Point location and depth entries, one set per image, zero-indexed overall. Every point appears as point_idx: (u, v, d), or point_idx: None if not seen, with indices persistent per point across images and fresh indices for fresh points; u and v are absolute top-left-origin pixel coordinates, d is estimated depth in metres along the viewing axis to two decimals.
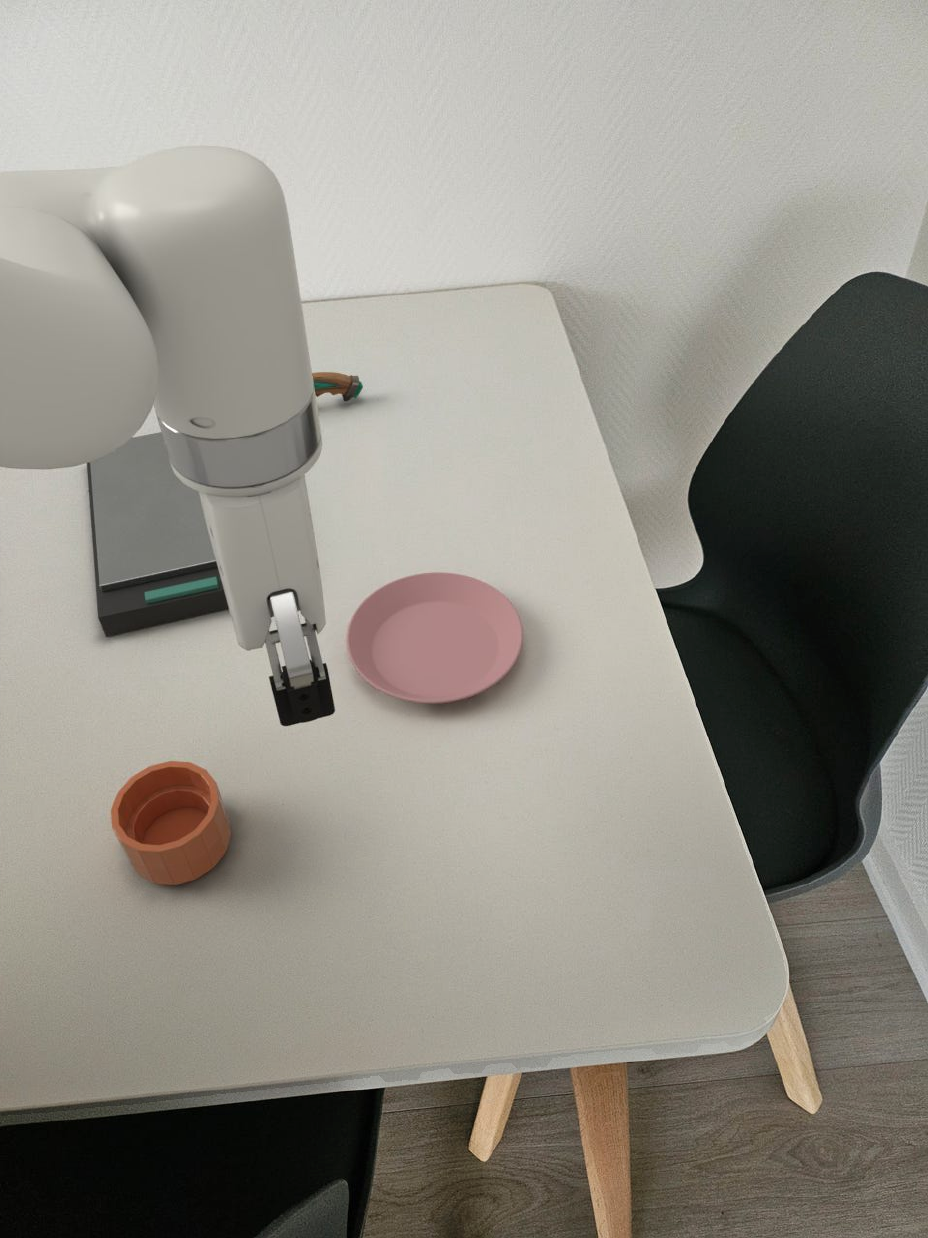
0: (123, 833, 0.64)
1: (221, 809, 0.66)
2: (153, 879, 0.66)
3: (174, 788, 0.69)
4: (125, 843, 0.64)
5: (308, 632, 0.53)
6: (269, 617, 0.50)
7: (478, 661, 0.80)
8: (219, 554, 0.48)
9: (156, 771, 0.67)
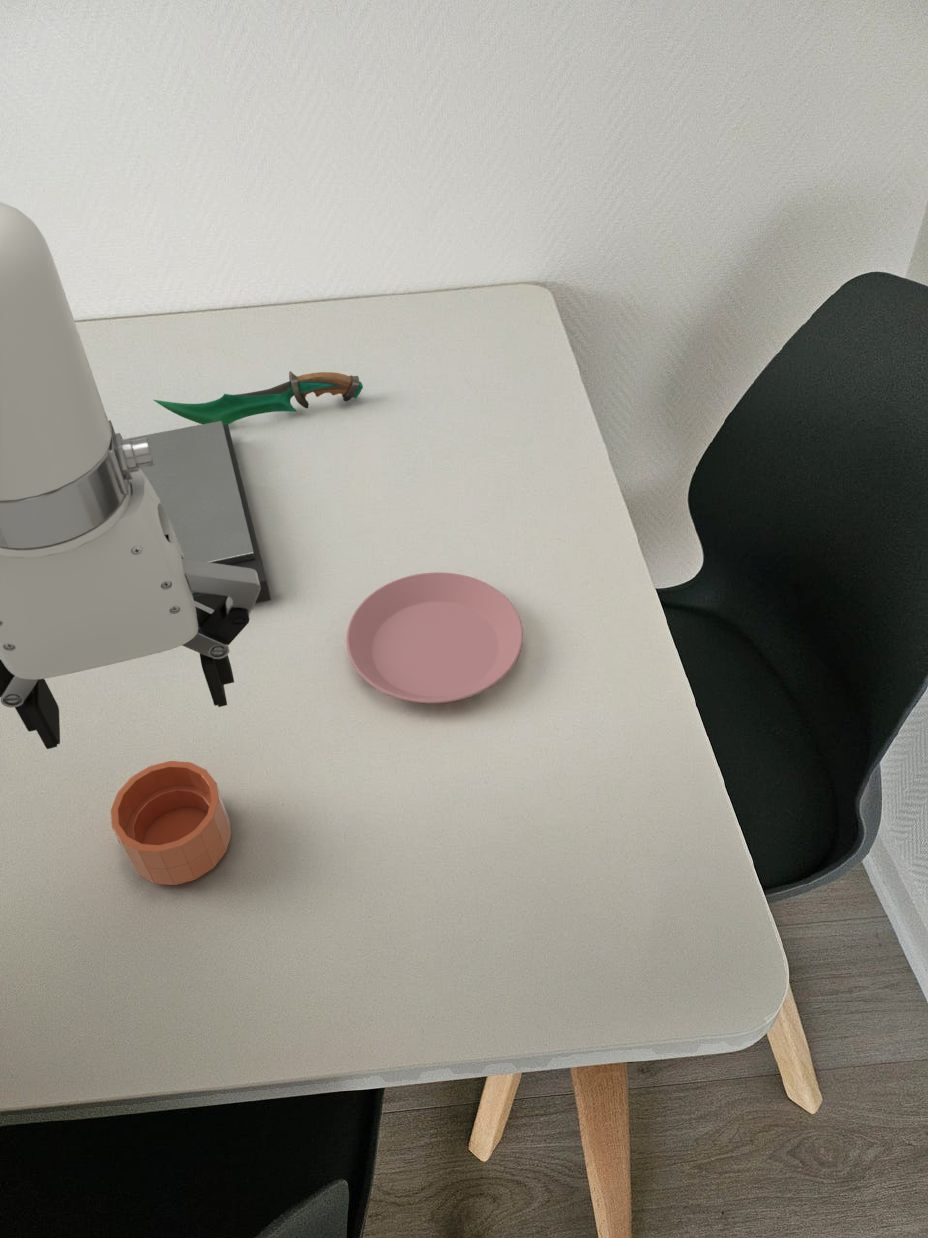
0: (123, 833, 0.64)
1: (221, 809, 0.66)
2: (153, 879, 0.66)
3: (174, 788, 0.69)
4: (125, 843, 0.64)
5: None
6: None
7: (478, 661, 0.80)
8: None
9: (156, 771, 0.67)
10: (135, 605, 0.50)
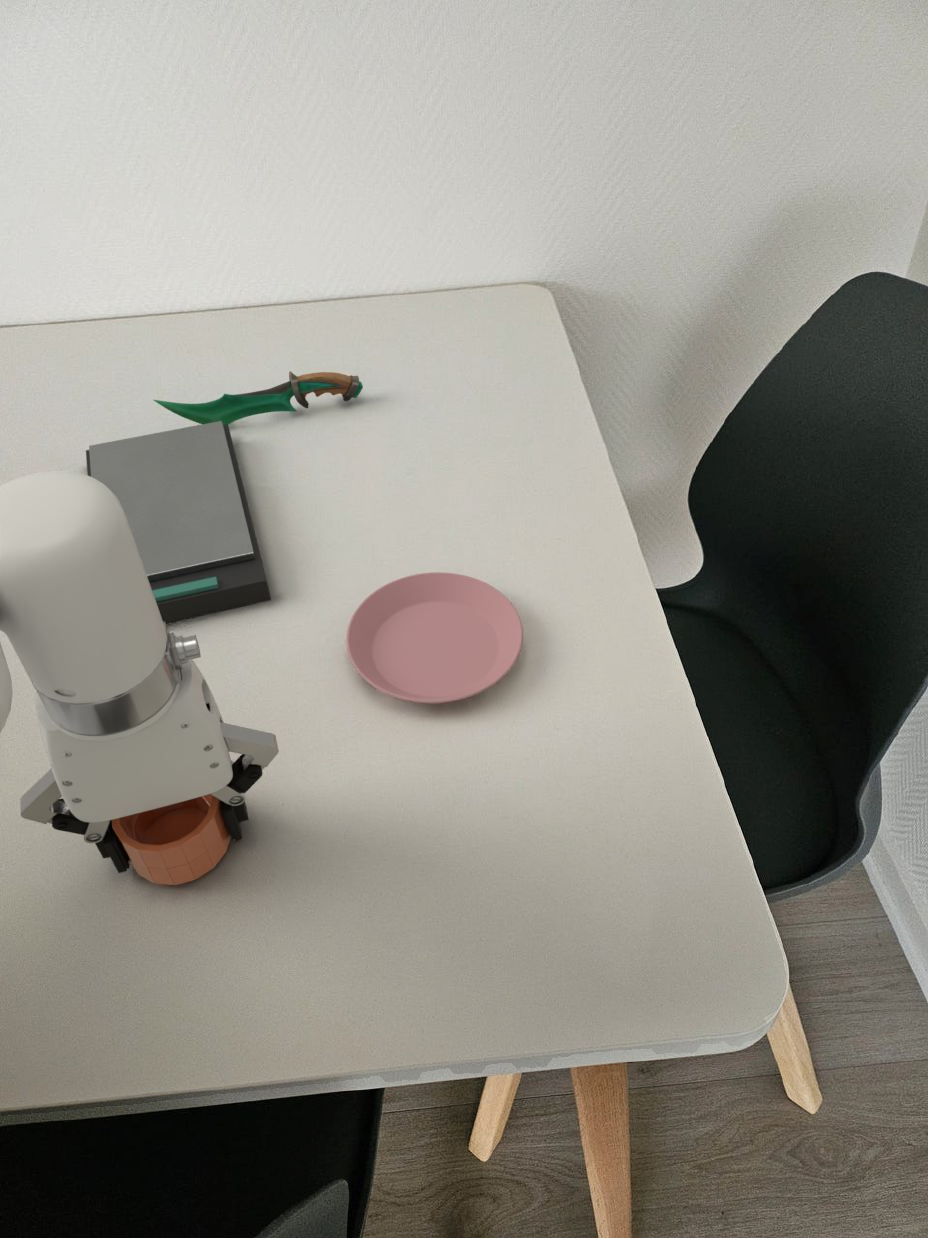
0: (123, 833, 0.64)
1: None
2: (153, 879, 0.66)
3: None
4: (125, 843, 0.64)
5: None
6: None
7: (478, 661, 0.80)
8: None
9: None
10: (182, 764, 0.60)
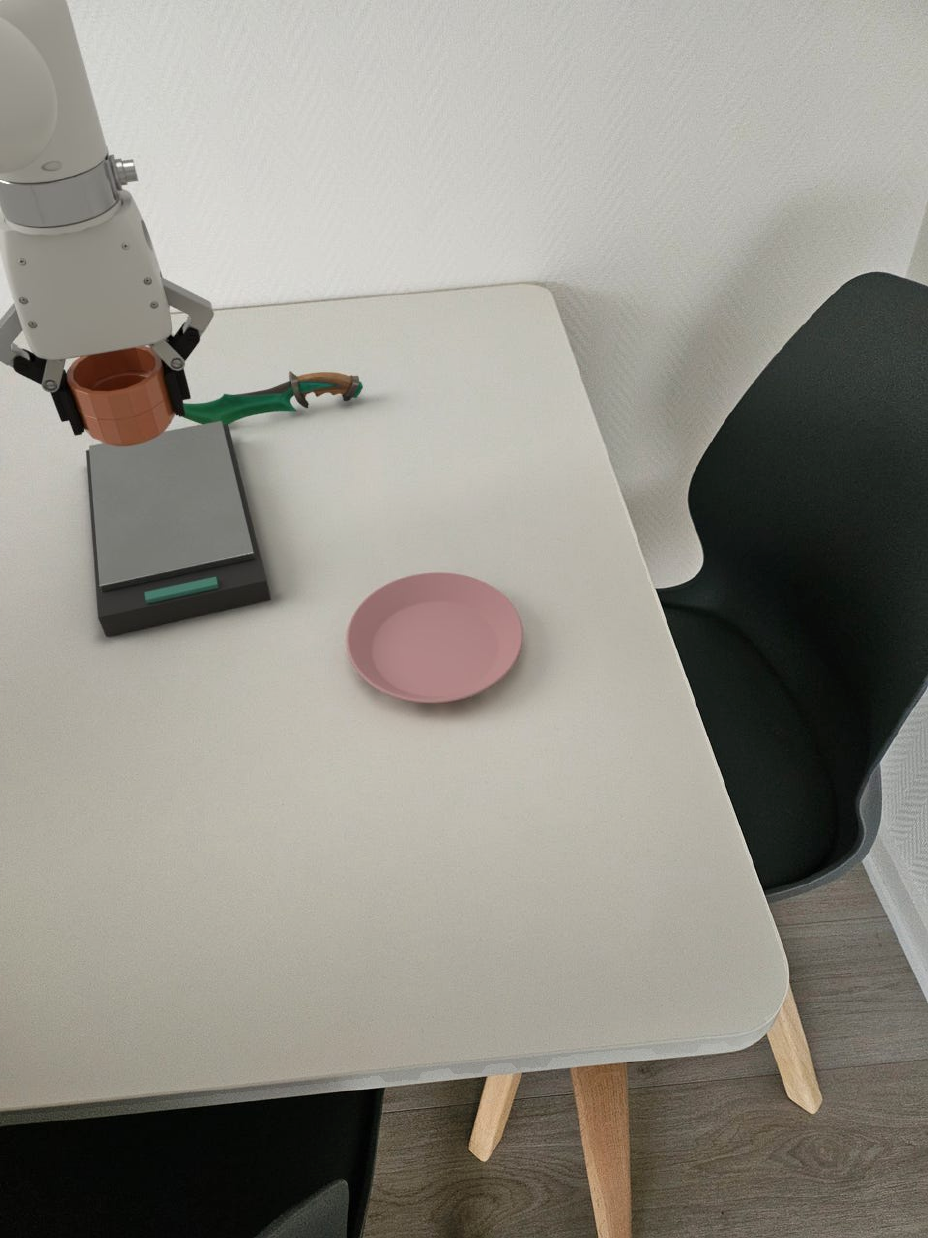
0: (76, 384, 0.73)
1: None
2: (104, 436, 0.75)
3: (125, 373, 0.78)
4: (78, 390, 0.72)
5: None
6: None
7: (478, 661, 0.80)
8: None
9: None
10: (124, 295, 0.68)
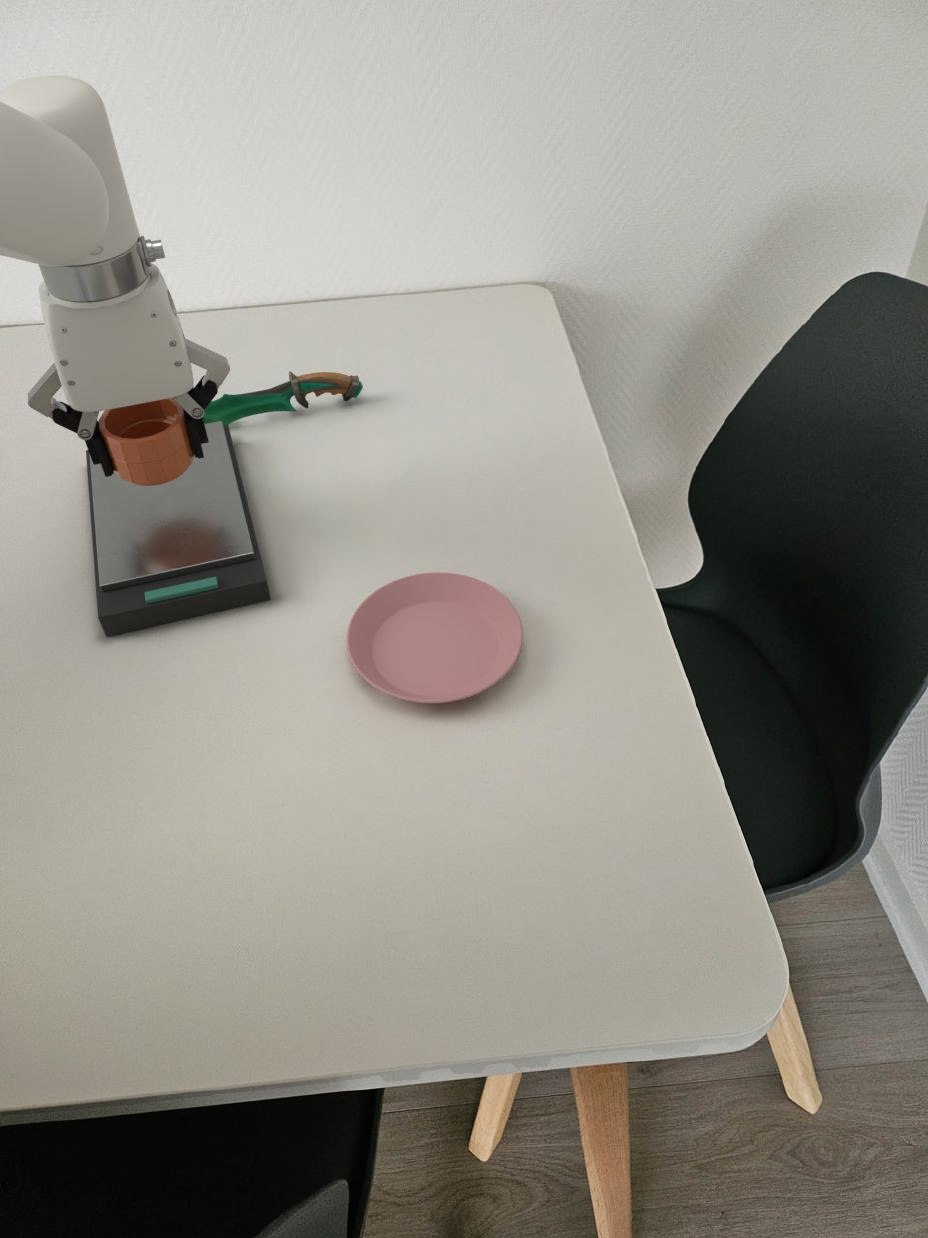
0: (108, 432, 0.82)
1: (186, 424, 0.84)
2: (132, 478, 0.84)
3: (149, 419, 0.87)
4: (109, 438, 0.81)
5: None
6: None
7: (478, 661, 0.80)
8: None
9: None
10: (152, 356, 0.77)
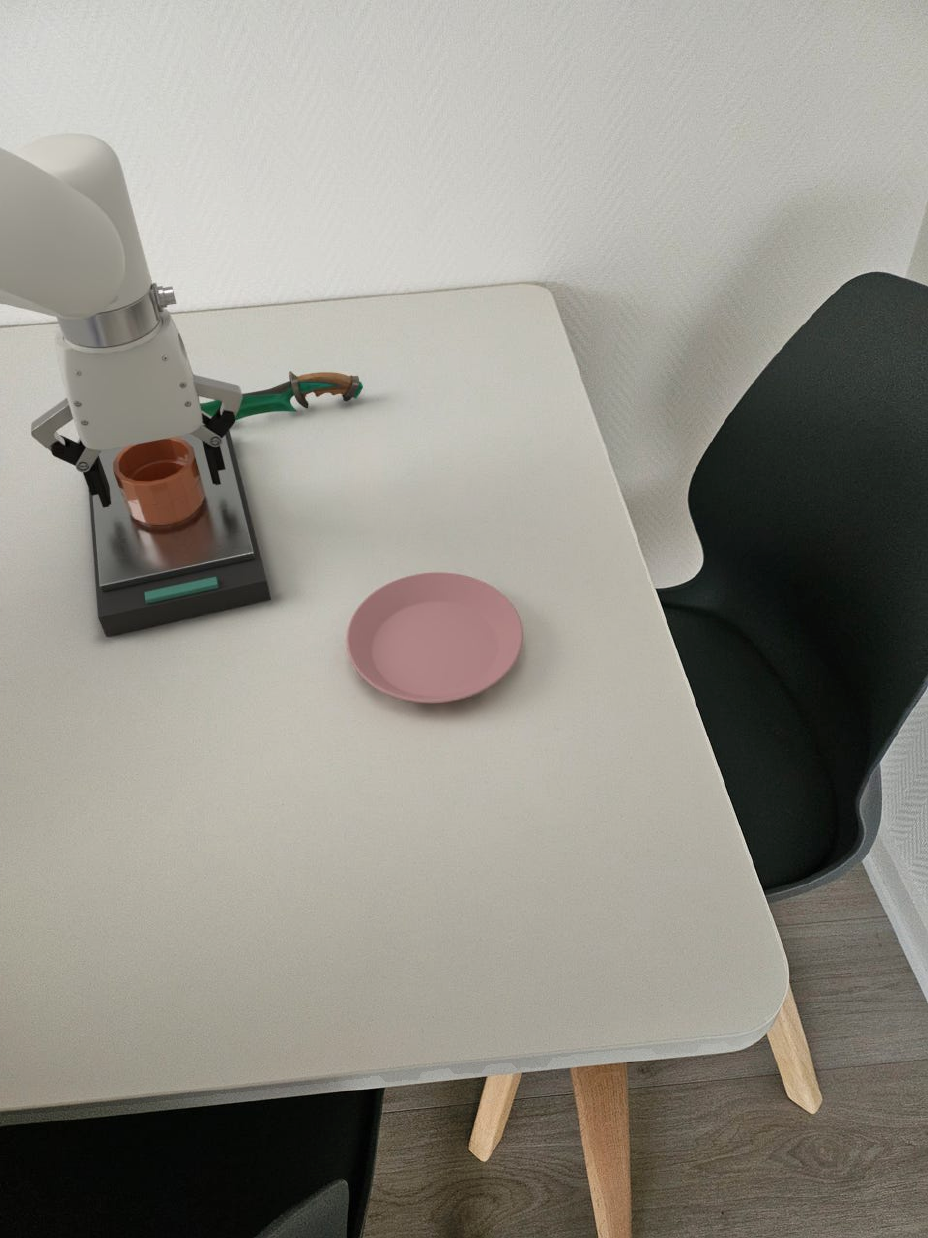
0: (122, 475, 0.85)
1: (197, 466, 0.87)
2: (145, 518, 0.87)
3: (161, 460, 0.90)
4: (124, 480, 0.84)
5: None
6: None
7: (478, 661, 0.80)
8: None
9: (147, 442, 0.88)
10: (163, 397, 0.80)
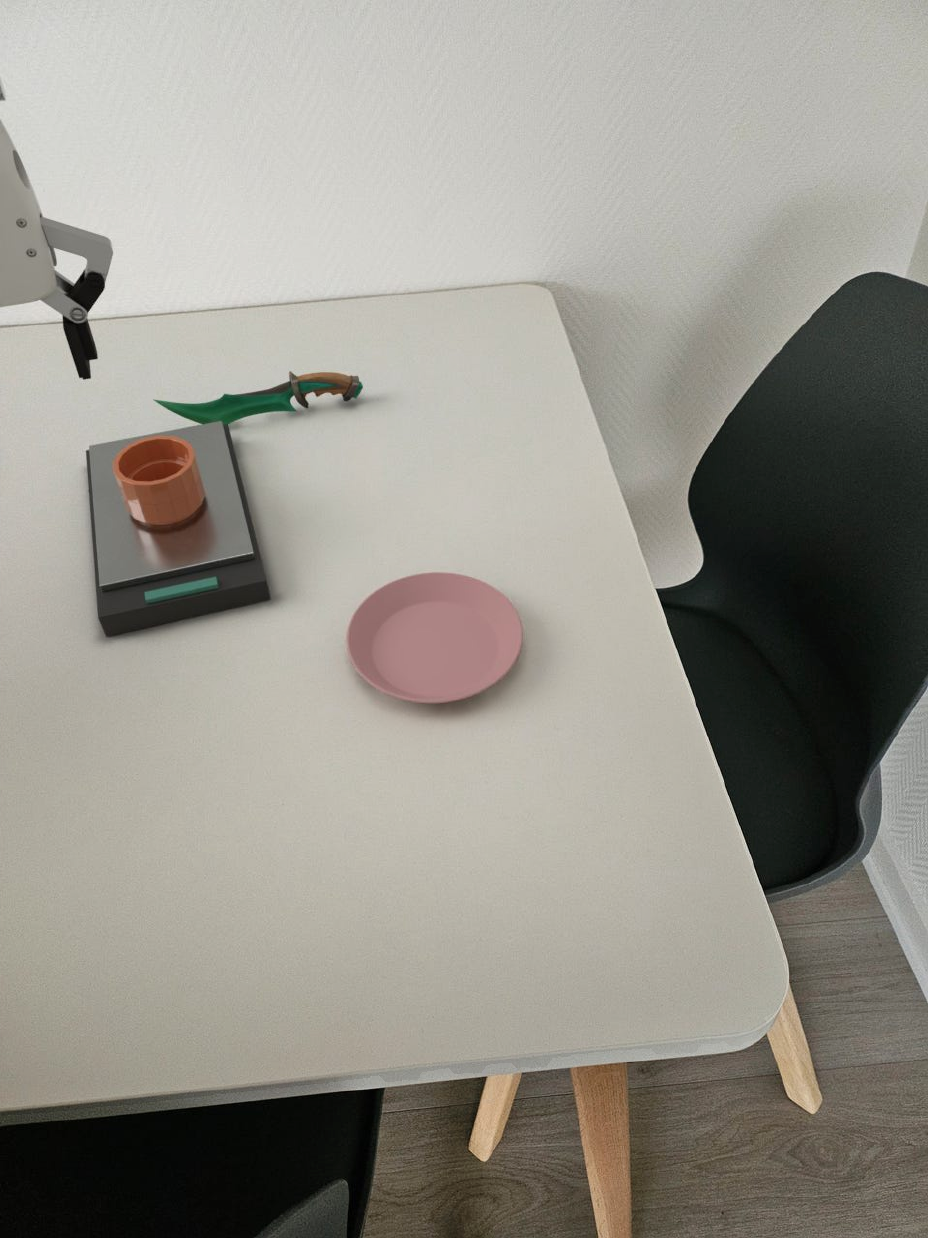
0: (122, 475, 0.85)
1: (197, 466, 0.87)
2: (145, 518, 0.87)
3: (161, 460, 0.90)
4: (124, 480, 0.84)
5: None
6: None
7: (478, 661, 0.80)
8: None
9: (147, 442, 0.88)
10: None
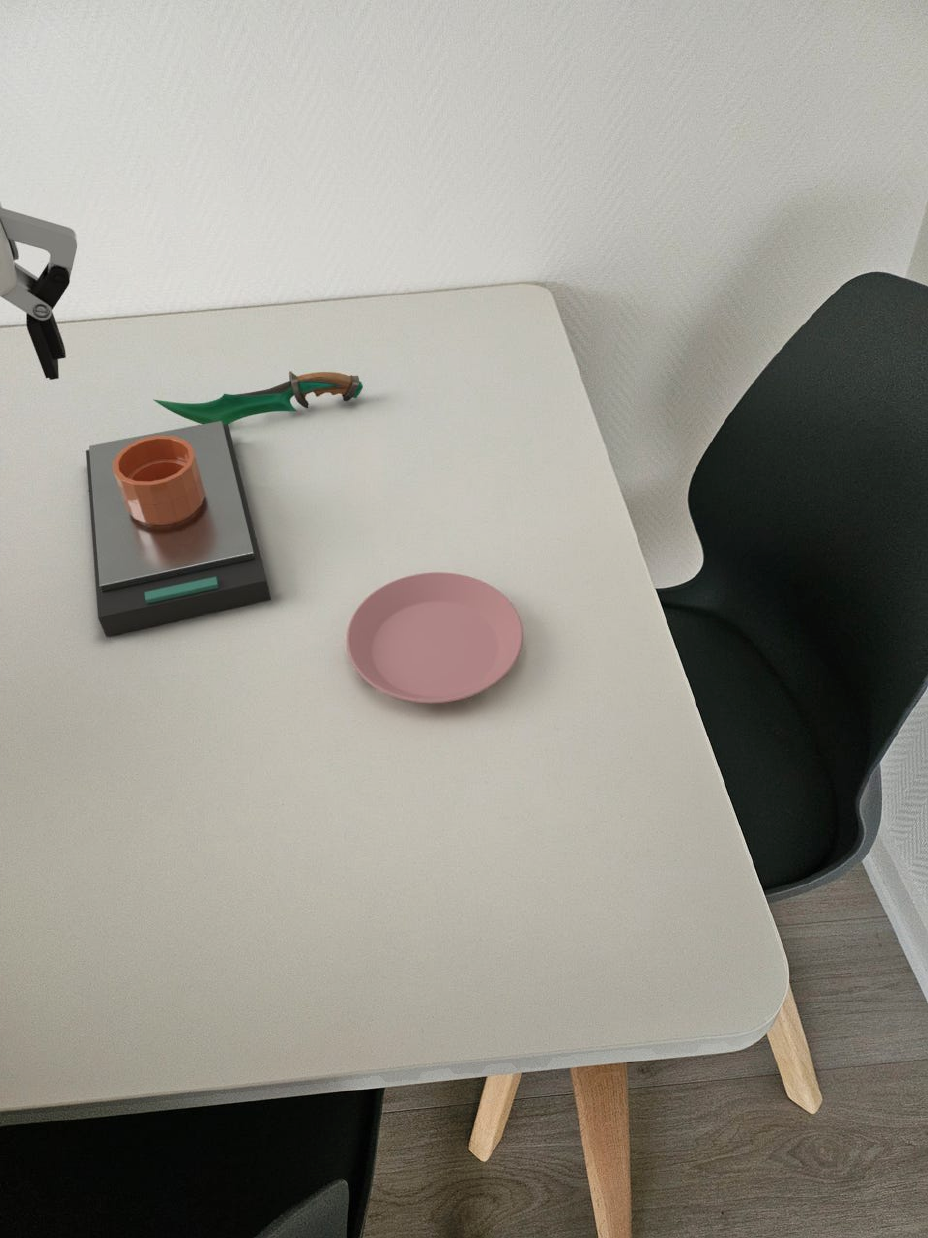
0: (122, 475, 0.85)
1: (197, 466, 0.87)
2: (145, 518, 0.87)
3: (161, 460, 0.90)
4: (124, 480, 0.84)
5: None
6: None
7: (478, 661, 0.80)
8: None
9: (147, 442, 0.88)
10: None
